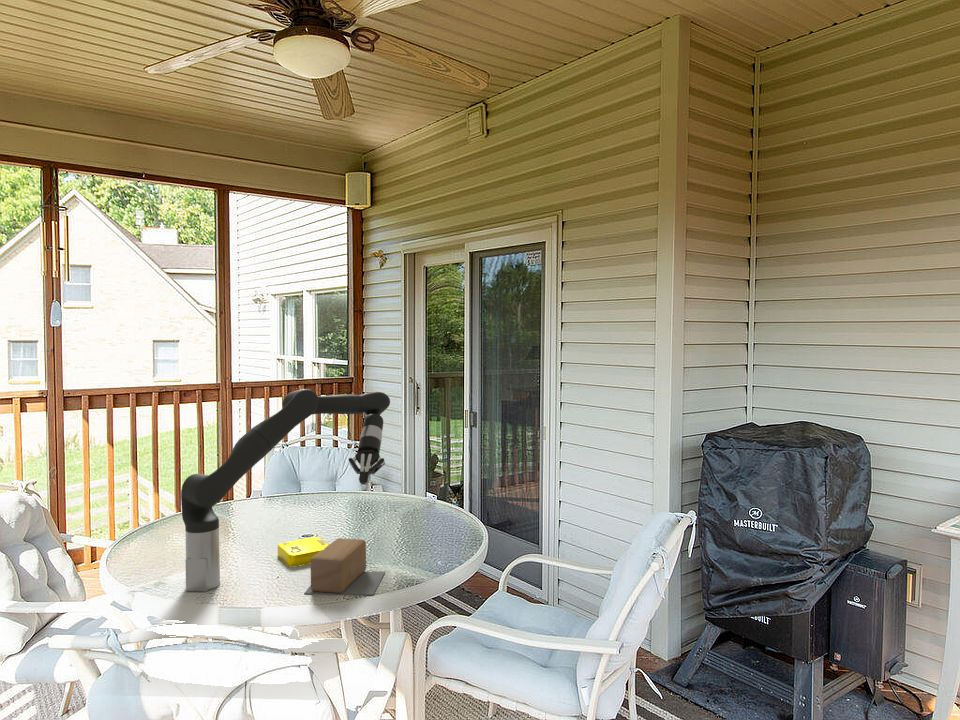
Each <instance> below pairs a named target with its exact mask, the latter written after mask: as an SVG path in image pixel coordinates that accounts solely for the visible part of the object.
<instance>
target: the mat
mask: <svg viewBox="0 0 960 720" xmlns="http://www.w3.org/2000/svg"><path fill="white" fill-rule="evenodd" d="M384 573H385V574H386V571H364V572H363V573H362V574H361V575H360V576H359V577H358V578H357V579H356V580H355V581H354V582H353V583H352V584H351V585H349V586H348V587H347V588H346V589H345V590H344V591H343V592H342V593H333V592H320V591H312V590H311V584H310V586H309V587H308V588H307V589H306V590H305V592H304V593H303V594H304V595H317V596H318V595H323V596H324V595H327V596H328V595H330V596H331V595H332V596H334V595H335V596H374V595H375V593H376V591H377V589H378V587H379V586H380V583H381V581H382V579H383V578H384V576H385V574H384ZM383 575H384V576H383ZM382 577H383V578H382Z"/></svg>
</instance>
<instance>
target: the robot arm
mask: <svg viewBox="0 0 960 720" xmlns="http://www.w3.org/2000/svg"><path fill="white" fill-rule="evenodd" d="M281 404H282V408H281V409H280V410H279V411H278V412H276V413H275V414H273V415H271V416H269V417H268V418H266V419H264V420H263V421H261V422H259V423H258V424H256V425H254V426H253V427H252V428H251V429H249V430H248V431H247V432H246V433H245V434H243V435H242V436H241V437H240V438H239V439H238V440H237V441H236V443H235V444H234V446H233V447H232V450H231V452H230V454H229V456H228V458H227V459H226V460H225V461H224V462H223V463H222V464H221V466H219V467H218V468H216V470H215V471H213V472H212V473H210V474H209V475H208V474H204V473H194V474H190V475H189V476H188V477H187V478H186V479H184V481H183V483H182V486H181V490H180V503H181V504H180V505H181V517H182V520H183V523H184V527H185V531H184V532H185V591H186V592H208V591H210V590H213V589H215V588H217V587H219V586H220V585H221V571H220V567H221V566H220V565H221V563H220V561H221V560H220V558H221V557H220V555H221V553H220V518H219V517H218V516H217V514H216V513H215V511H214V509H213V507H214V506H215V505H217V504H218V503H219V502H221V501H222V499H224V497H225V496H226V495H227V494H228V492H229V491H231V489H232V488H233V487H234V486H235V485H236V484H237V482H239V480H240V479H242V478H243V477H244V475H246V474H247V473H248V472H249V471H250V470H251V469H252V468H254V466H255V465H256V464H258V463H259V462H260V461H262V459H264V458H265V457H266V455H268V454H269V453H270V452H271V451H272V450H273V449H275V447H276V446H277V445H278V444H279V443H280V442H281V441H282V440H283V439H284V438H286V436H287V435H288V434H289V433H290V432H291V431H292V430H293V429H295V428H296V427H297V426H298V425H299V424H301V423H302V422H304V421H305V420H307V418H310V416H312V415H323V414H325V415H326V414H329V415H331V414H332V415H333V414H334V415H361V414H363V424H362V425H363V426H362V429H361V432H360V437H359V442H358V447H357V452H356V454H355V455H354V457H349V458H348V462H349V465H350V466H351V468H353V471H354V472H355V474H357V475H359V477H358V481H359V483H360V485H361V486H362V485H366V484H368V483H369V479H370V478H369V477H370V475H375V474H376V473H377V472H378V471H380V469H381V468H382V467H384V466H385V465H386V462H385V458H383V457H381V455H380V451H381V445H382V439H383V430H384V429H383V428H384V418H383V417H382V415H381V414H383V413H384V412H385V411H386V410H387V409H388V408H389V406H390V404H391V399H390V397H389V396H388V395H387V394H386V393H384V392H381V391H372V392H367V393H363V394H334V395H321V396H320V395H318V393H316V392H315V391H313V390H312V389H308V388H302V389H298V390H294V391H291V392H288V393H287V394H286V395H285V397H284V398H283V399H282V403H281ZM357 463H358V464H359V466H360V467H359V466H358V465H357Z"/></svg>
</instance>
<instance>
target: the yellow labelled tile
mask: <svg viewBox="0 0 960 720" xmlns="http://www.w3.org/2000/svg"><path fill="white" fill-rule="evenodd" d="M329 544H330V543H328V542H326V541H325V540H324V539H323V538H321V537H319V536H313V537H308V538H303V539H297V540H292V541H291V540H290V541H285V542H279V543H278V544H277V557H278V558H279V560H281V559H282V560H283V561H284V562H285V563H286V564H287V565H288V566H287V565H286V564H285V563H284V562H283V561H282V560H281V561H282V562H283V563H284V564H285V565H286V566H287V567H289V566H297V567H300V566H299V565H302V566H304V565H303V564H307V565H309V564H308V563H311V558H312V557H313V556H315V555H316V554H317V553H319V552H320V551H321V550H323V549H324V548H325V547H327V546H328V545H329Z"/></svg>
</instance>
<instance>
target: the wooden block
mask: <svg viewBox="0 0 960 720" xmlns="http://www.w3.org/2000/svg"><path fill="white" fill-rule="evenodd" d="M328 544H329V545H328V546H327V547H325V548H324V549H323V550H321V551H320V552H319V553H317V554H316V555H315V556H313V557H312V558H311V564H310V585H311V590H312V591H320V592H333V593H342V592H343V591H344V590H345V589H346V588H347V587H348V586H349V585H351V584H352V583H353V582H354V581H355V580H356V579H357V578H358V577H359V576H360V575H361V574H362V573H363V572H366V569H367V543H366V540H364V539H356V538H355V539H354V538H336V539H334V540H333V541H332V542H331V543H328Z"/></svg>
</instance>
